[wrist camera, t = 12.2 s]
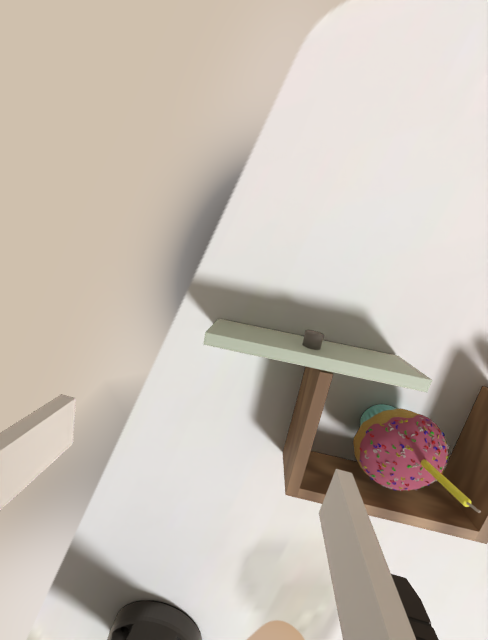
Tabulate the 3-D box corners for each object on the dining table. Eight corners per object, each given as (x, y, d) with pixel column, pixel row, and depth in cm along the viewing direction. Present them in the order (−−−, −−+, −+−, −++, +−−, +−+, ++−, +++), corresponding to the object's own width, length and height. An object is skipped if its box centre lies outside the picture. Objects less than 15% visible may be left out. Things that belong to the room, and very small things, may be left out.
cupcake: (391, 376, 28) (476, 454, 17) (434, 429, 29) (542, 538, 18) (328, 416, 30) (366, 512, 19) (370, 465, 31) (431, 585, 19)
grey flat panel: (216, 328, 29) (203, 344, 23) (220, 306, 28) (207, 317, 23) (394, 365, 28) (427, 392, 22) (402, 343, 27) (438, 365, 21)
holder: (282, 452, 32) (285, 494, 26) (313, 337, 28) (324, 356, 22) (458, 494, 31) (503, 548, 25) (514, 379, 27) (581, 411, 21)
